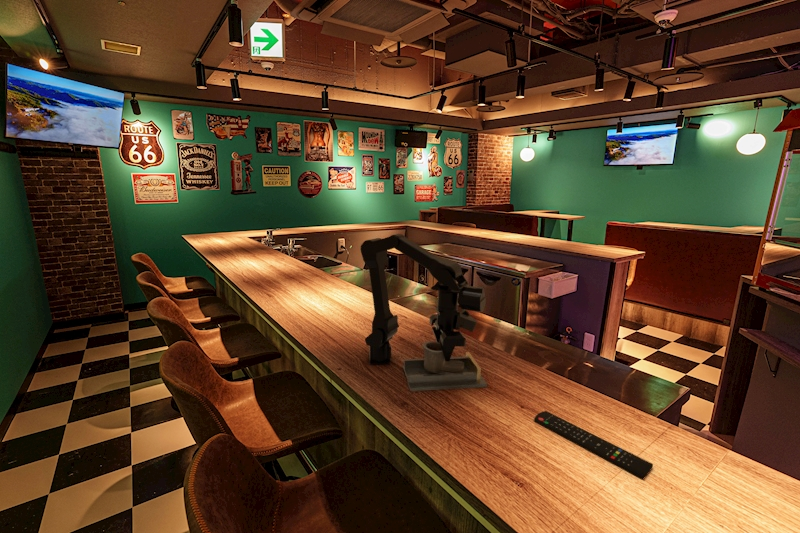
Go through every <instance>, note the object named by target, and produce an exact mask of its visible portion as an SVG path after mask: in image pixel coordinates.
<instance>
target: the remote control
mask: <svg viewBox="0 0 800 533" xmlns="http://www.w3.org/2000/svg"><path fill="white" fill-rule="evenodd" d="M533 422H535V423H536V424H538V425H541V426H542V427H544V428H546V429H548V430H550V431H551V432H553V433H555V434H556V435H559V436H561V437H562V438H564V439H565V440H568V441H570V442H572V443H574V444H576V445H577V446H580V447H582V448H583V449H585V450H587V451H589V452H590V453H592V454H595V455H596V456H598V457H599V458H602V459H603V460H606V461H607V462H610V463H611V464H612V465H615V466H616V467H618V468H620V467H621V468H620V469H622V468H623V469H622V470H624V469H625V470H624V471H626V470H627V471H626V472H628V473H630V474H632V475H634V476H635V475H636V477H637V476H638V477H637V478H639V477H640V478H639V479H641V478H642V479H641V480H644V479H645V478H646V477H647V475H648V474H649V473H650V472H651V470H652V469H653V466H654V463H652V462H649V461H647V460H646V459H644V458H641V457H639V456H638V455H636V454H633V453H632V452H629V451H627V450H626V449H623V448H621V447H620V446H617V445H616V444H613V443H611V442H610V441H607V440H606V439H603V438H602V437H599V436H597V435H596V434H594V433H591V432H589V431H587V430H585V429H583V428H581V427H579V426H577V425H575V424H573V423H571V422H569V421H567V420H565V419H562V417H559V416H557V415H555V414H554V413H551V412H549V411H547V410H544V411H541V412H538V413H537V414H536V415H535V417H534V420H533ZM651 468H652V469H651ZM650 469H651V470H650ZM648 472H649V473H648ZM647 473H648V474H647ZM644 477H645V478H644ZM643 478H644V479H643Z"/></svg>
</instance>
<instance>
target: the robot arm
mask: <svg viewBox="0 0 800 533" xmlns="http://www.w3.org/2000/svg"><path fill="white" fill-rule="evenodd" d="M392 249H395V250H396V251H398V252H400V254H401V253H402V254H403V255H404V256H406V257H408V258H409V259H411V260H412V261H414V262H416V263H417V264H419V265H420V266H421V267H424V268H425V269H426V270H427V271H428V272H429V274H430V276H432V277H433V278H434V279H435V280H436V283H434V285H432V286H431V287H430V289H431V290H432V291H437V306H435V311H436V314H431V316H430V317H429V325H430V326H431V330H432V332H433V334H434V338H435V342H439V343H440V346H441V349H442V352H443V355H444V358H445V361H449V360H450V358H451V357H452V355H453V352H454V349H455V348H456V347H465V346H466V340H467V339H466V337H465V335H463V333H461V331H459V330H461V329H464V330H467V331H469V332H470V333H473V332H474V330H475V327H476V325H477V323H478V322H477V321H476V319H475V318H474V317H473V316H471V315H470V313H469V311H473V312H478V313H483V312H484V310H485V307H486V302H487V297H486V292H485V287H483V286H472V285H469V282H468V281H467V279H466V278H465V276H464V275H463V272H462V267H461V265H460V264H459V263H458V262H456V261H454V260H451V259H449V258H446V257H441V256H438V255H435V253H432V252H430V251H429V250H427V249H425V248H424V247H422V246H421V245H419V244H417V243H416V242H414V241H413V240H411V239H409V238H408V237H406V236H405V235H404V234H403V233H395V234H391V235H390V236H388V237H384V238H381V237H377V238H371V239H370V238H369V239H366V240H364V241H363V242H362V243H361V245H360V253H361V256H362V257H361V258H362V261H363V262H364V264H365V265H366V266H367V268H368V272H369V279H370V280H369V281H370V286H371V293H372V294H371V295H372V300H373V301H372V302H373V308H374V309H373V310H374V315H373V318H372V323H371V333H370V334H369V335H368V336H367V337H365V338H364V342H365V345H366V346H368V347H369V354H368V361H369V365H384V364H385V365H389V364H390V363H391V360H392V345H391V342H390V340H392V339H393V337H394V336H395V335H396V334H397V332H398V329H399V328H400V325H399V322H398V321H399V318H398V314H394V315H393V313H392V311H391V309H390V301H389V294H388V285H387V284H388V283H387V278H386V276H387V275H386V272H385V270H386V269H385V266H386V262H387V258H388V251H390V250H392ZM458 307H459V308H460V309H461V311H459V309H458ZM457 330H458V331H457Z"/></svg>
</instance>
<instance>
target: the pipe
mask: <svg viewBox="0 0 800 533" xmlns="http://www.w3.org/2000/svg"><path fill="white" fill-rule="evenodd" d="M421 346H422V350H423V356H424V357H423V359H424V367H425V369H426V370H427V371H429V372H432V373H438V372H440V371H443V372H450V373H463V367H464V363H463V362H462V361H455V360H449V361H445V358H444V355H443V352H442V349H441V346H440V343H439V342H437V341H432V340H431V341H430V340H429V341H426V342H423V343H422V345H421Z"/></svg>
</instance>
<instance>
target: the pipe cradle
mask: <svg viewBox="0 0 800 533" xmlns="http://www.w3.org/2000/svg"><path fill="white" fill-rule="evenodd" d="M450 360H455V361H462V362H463V363H464V367H463V373H450V372H443V371H440V372H438V373H432V372H429V371H427V370H426V369H425V367H424V358H408V359H406V358H405V359H403V365H402V366H403V372H404V374H405V379H406V382H407V386H408V388H409V391H410V392H421V391H424V392H425V391H440V390H441V391H442V390H457V389H458V390H461V389H477V388H488V384H487V382H486V379H484V377H483V376H482V375H481V373H482V368H481V366H480V365H479V363H477V361H476V359H475V358H474V357H473V356H472V354H471V353H470V352H469V351H466V352H465V356H455V357H454V356H451V358H450Z"/></svg>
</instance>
